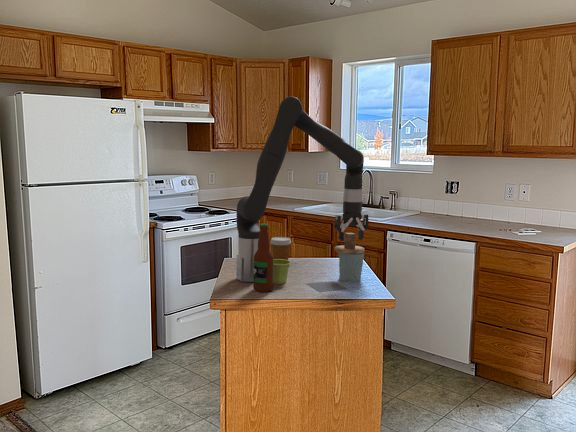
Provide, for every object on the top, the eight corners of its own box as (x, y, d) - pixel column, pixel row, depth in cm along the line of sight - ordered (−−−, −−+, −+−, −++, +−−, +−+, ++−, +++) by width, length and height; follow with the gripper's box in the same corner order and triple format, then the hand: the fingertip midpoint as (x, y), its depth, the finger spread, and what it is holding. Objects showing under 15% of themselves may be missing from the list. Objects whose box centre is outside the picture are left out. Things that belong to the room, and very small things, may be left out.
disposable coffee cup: (283, 268, 229) (283, 241, 227) (265, 265, 234) (266, 239, 232) (294, 264, 237) (295, 238, 235) (277, 261, 242) (278, 236, 240)
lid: (344, 255, 203) (344, 236, 202) (329, 249, 214) (330, 231, 213) (370, 253, 208) (371, 235, 207) (354, 247, 219) (355, 230, 218)
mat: (319, 293, 192) (319, 292, 192) (305, 285, 203) (305, 283, 203) (347, 290, 197) (347, 289, 197) (333, 282, 208) (333, 281, 208)
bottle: (251, 287, 198) (252, 222, 194) (269, 286, 200) (270, 222, 197) (256, 293, 191) (256, 225, 187) (275, 292, 193) (276, 225, 190)
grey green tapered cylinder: (335, 277, 216) (336, 248, 215) (359, 277, 217) (360, 248, 216) (340, 283, 206) (341, 254, 205) (365, 283, 207) (367, 254, 206)
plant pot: (293, 281, 208) (294, 260, 207) (285, 287, 200) (286, 265, 198) (271, 279, 211) (272, 258, 210) (262, 284, 203) (263, 263, 201)
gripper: (341, 201, 201) (339, 243, 203) (373, 200, 207) (371, 241, 209) (332, 199, 208) (330, 239, 210) (363, 198, 213) (361, 237, 216)
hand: (351, 240), depth 210 cm, fingers open, 8 cm apart
